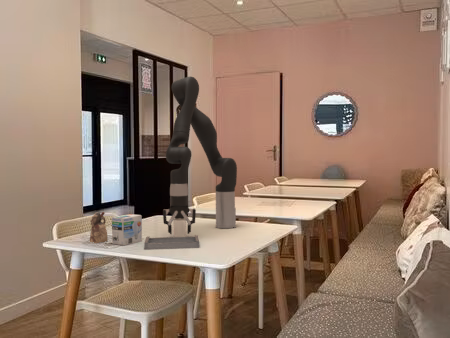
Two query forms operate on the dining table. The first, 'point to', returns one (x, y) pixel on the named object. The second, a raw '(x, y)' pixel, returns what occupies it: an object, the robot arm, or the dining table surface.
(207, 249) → the dining table surface
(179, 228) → the block
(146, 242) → the grey flat rectangular frame
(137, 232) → the light bulb box
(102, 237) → the figurine
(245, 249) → the dining table surface
